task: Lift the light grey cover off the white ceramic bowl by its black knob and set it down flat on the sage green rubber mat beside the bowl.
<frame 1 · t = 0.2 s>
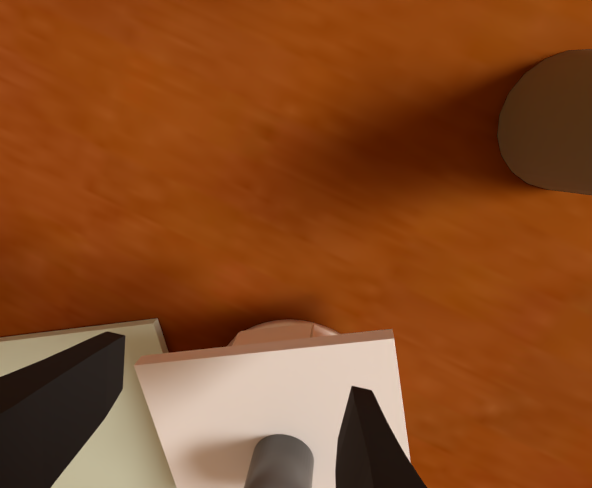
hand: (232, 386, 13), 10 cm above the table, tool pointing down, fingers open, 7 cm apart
cover: (285, 446, 21), point 4 cm above the table, touching bowl
mat: (89, 424, 27), on the table
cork: (566, 122, 19), on the table
bowl: (294, 394, 25), on the table
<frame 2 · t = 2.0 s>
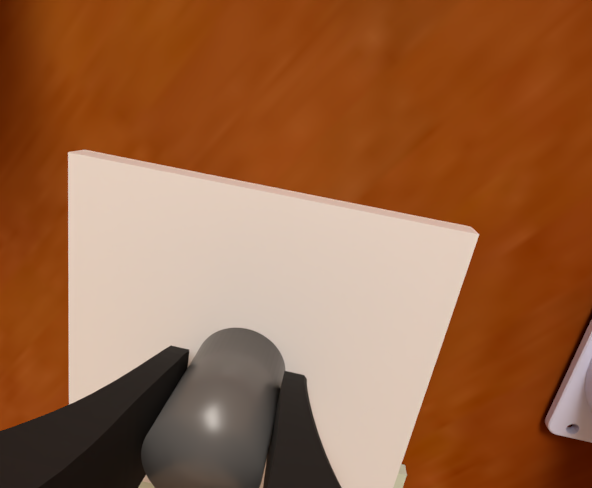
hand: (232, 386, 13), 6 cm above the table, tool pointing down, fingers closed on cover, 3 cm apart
cover: (246, 354, 14), point 4 cm above the table, touching bowl, gripper
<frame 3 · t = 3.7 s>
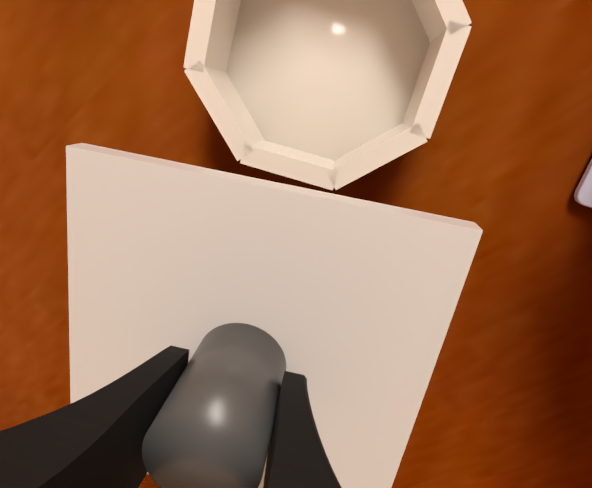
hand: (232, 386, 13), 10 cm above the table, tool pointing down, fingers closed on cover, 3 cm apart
cover: (246, 348, 14), point 9 cm above the table, touching gripper
bowl: (325, 59, 19), on the table
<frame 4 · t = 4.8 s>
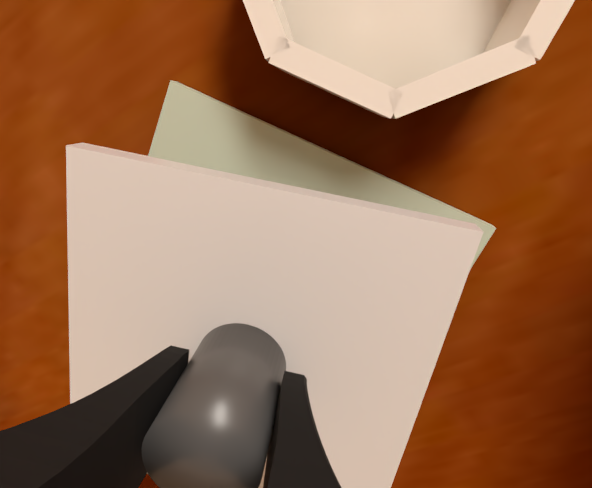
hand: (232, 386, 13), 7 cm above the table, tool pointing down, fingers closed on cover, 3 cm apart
cover: (246, 349, 14), point 5 cm above the table, touching gripper
mat: (270, 295, 19), on the table
when the fingers open (4 cm above the table, at t = 5.7 s): cover drops 1 cm, resting on mat.
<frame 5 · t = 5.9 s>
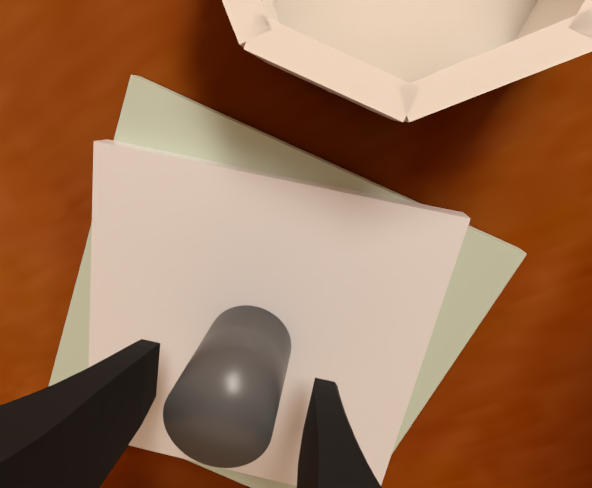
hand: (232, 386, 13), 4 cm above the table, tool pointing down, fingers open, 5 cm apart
cover: (254, 331, 16), point 1 cm above the table, touching mat
mat: (256, 328, 16), on the table
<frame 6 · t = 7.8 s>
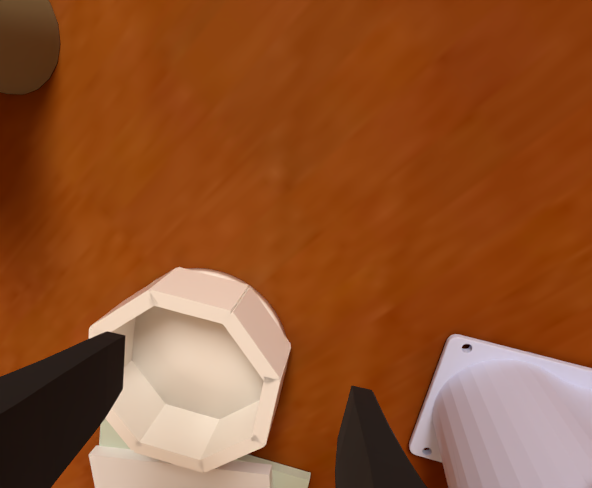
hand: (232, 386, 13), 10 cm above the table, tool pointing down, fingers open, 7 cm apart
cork: (9, 33, 22), on the table
bowl: (206, 346, 25), on the table
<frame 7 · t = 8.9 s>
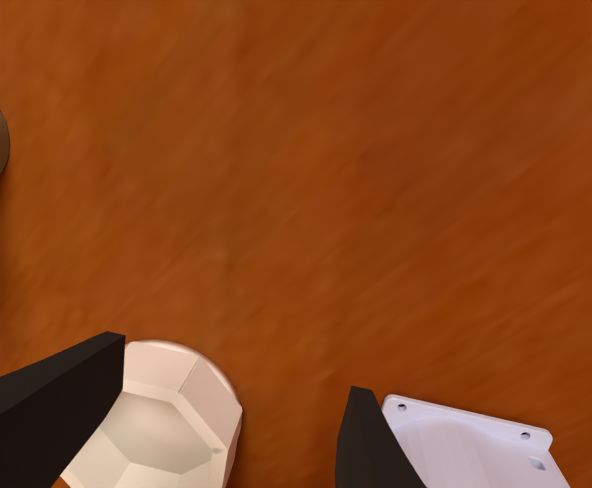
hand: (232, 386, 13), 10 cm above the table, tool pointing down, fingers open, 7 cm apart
bowl: (165, 408, 27), on the table
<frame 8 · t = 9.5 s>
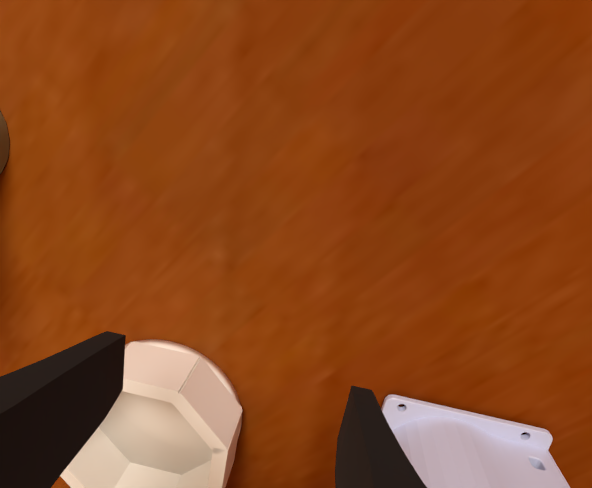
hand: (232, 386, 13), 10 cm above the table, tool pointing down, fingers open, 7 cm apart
bowl: (165, 408, 27), on the table
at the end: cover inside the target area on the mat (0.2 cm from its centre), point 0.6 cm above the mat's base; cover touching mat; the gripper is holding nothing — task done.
